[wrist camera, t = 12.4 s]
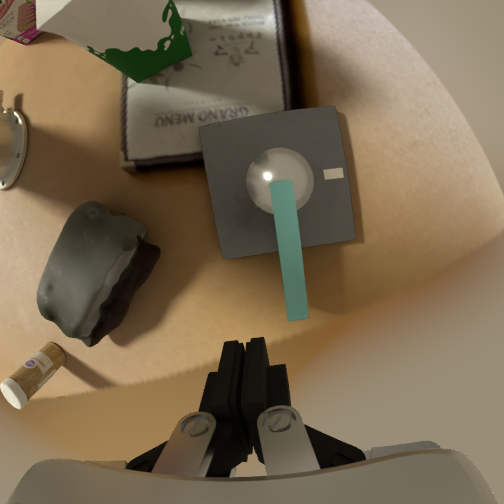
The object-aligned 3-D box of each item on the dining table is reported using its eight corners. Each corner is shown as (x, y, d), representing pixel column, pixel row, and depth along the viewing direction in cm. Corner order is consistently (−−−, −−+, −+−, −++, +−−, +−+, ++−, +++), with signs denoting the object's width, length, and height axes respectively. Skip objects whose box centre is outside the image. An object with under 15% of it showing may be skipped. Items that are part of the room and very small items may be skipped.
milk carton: (202, 58, 27) (129, -54, 7) (132, 93, 28) (10, 34, 8) (180, 9, 25) (113, -93, 5) (116, 42, 26) (16, -26, 7)
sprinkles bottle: (59, 341, 37) (9, 386, 24) (70, 365, 38) (26, 412, 25) (42, 341, 37) (-5, 382, 24) (53, 363, 38) (10, 407, 25)
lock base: (201, 129, 29) (197, 126, 27) (332, 109, 27) (335, 105, 26) (224, 256, 32) (222, 260, 30) (351, 236, 30) (356, 239, 29)
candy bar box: (26, 47, 26) (-42, 24, 10) (28, 27, 24) (-33, 2, 9) (77, 11, 24) (12, -31, 8) (78, -8, 23) (20, -50, 7)
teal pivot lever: (304, 147, 27) (310, 142, 23) (322, 300, 30) (328, 315, 27) (244, 155, 27) (240, 152, 24) (267, 308, 31) (267, 324, 27)
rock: (111, 344, 36) (84, 375, 28) (56, 293, 35) (22, 314, 27) (177, 245, 32) (150, 264, 24) (107, 187, 31) (68, 190, 23)
